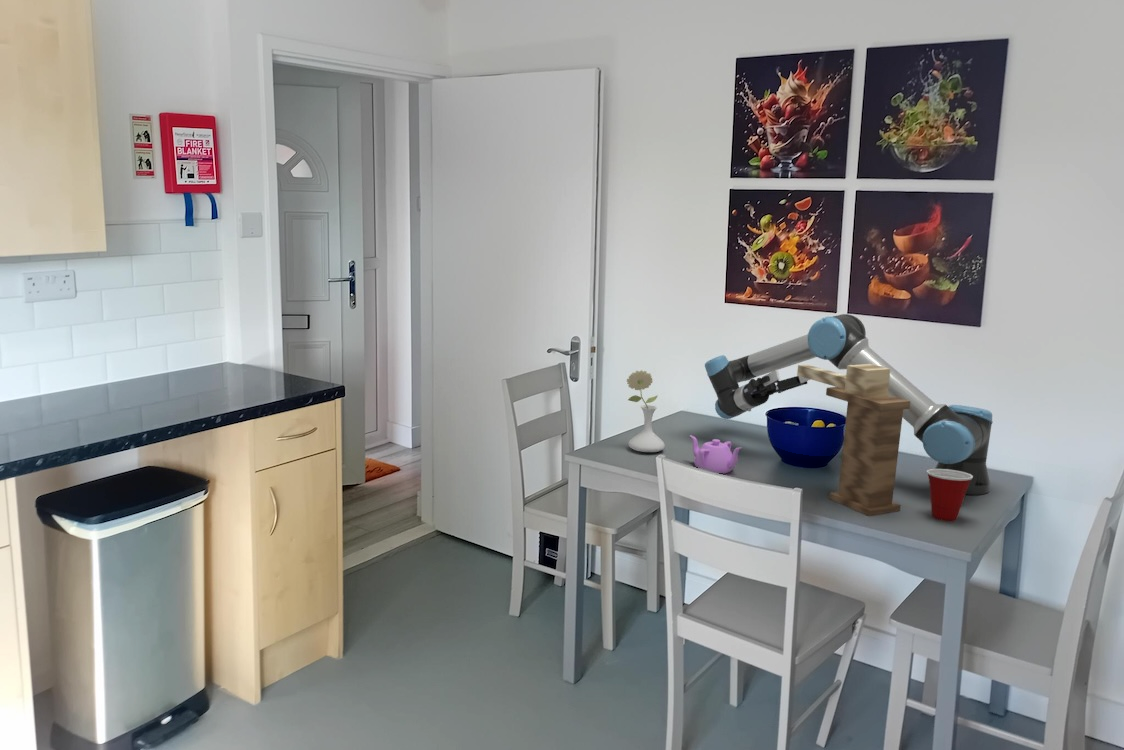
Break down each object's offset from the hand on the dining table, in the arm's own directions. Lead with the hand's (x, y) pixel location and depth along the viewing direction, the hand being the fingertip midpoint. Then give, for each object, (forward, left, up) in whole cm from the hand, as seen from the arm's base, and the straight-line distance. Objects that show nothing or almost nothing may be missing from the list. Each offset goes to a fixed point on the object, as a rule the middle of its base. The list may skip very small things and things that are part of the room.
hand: (796, 373), depth 250 cm
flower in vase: (+44, 0, -30) cm, 53 cm away
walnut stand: (-20, +16, -29) cm, 39 cm away
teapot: (+20, +8, -30) cm, 37 cm away
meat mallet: (-12, +10, 0) cm, 15 cm away
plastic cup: (-42, +18, -30) cm, 55 cm away
